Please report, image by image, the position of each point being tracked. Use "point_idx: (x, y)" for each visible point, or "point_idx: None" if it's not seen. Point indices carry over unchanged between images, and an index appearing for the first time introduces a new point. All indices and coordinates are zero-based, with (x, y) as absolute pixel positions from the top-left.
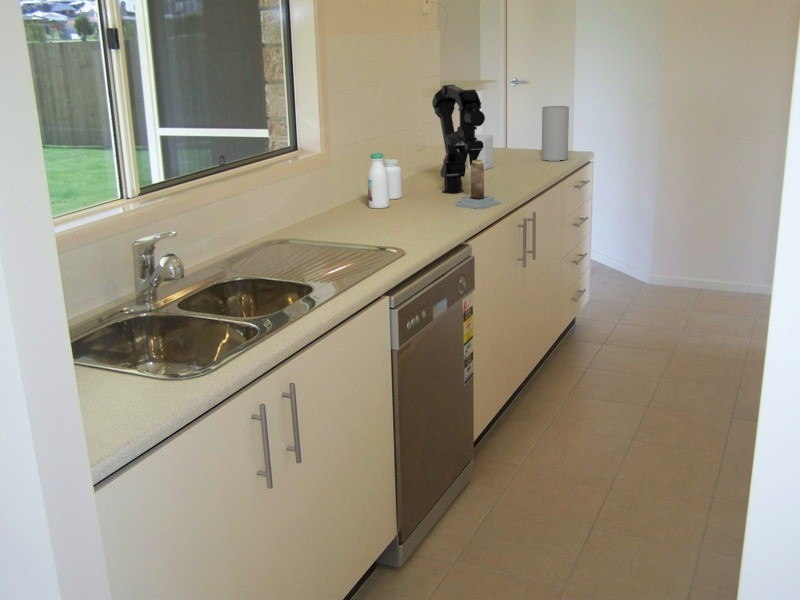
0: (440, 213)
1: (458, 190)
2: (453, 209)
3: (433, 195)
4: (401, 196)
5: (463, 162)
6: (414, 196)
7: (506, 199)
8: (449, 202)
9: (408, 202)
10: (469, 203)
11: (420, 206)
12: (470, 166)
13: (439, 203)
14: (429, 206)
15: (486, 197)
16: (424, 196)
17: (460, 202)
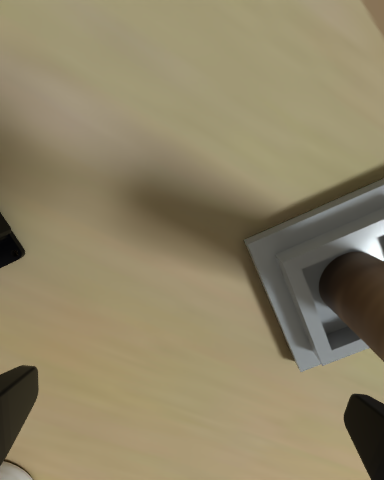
0: None
1: (7, 229)
2: (350, 391)
3: (15, 346)
4: (17, 472)
5: (29, 400)
6: None
7: (326, 70)
8: (212, 351)
9: (120, 469)
10: None
11: (218, 460)
12: (351, 429)
13: (207, 390)
14: (239, 437)
15: (369, 236)
16: None
17: (313, 352)
